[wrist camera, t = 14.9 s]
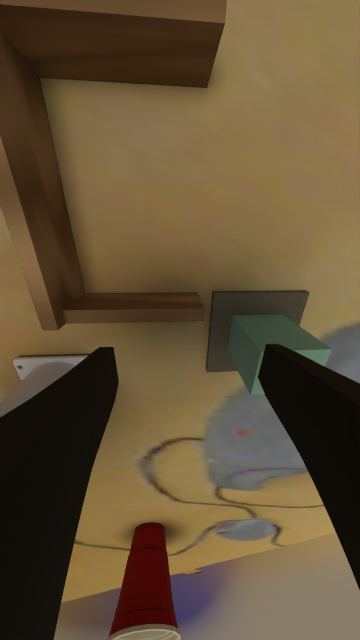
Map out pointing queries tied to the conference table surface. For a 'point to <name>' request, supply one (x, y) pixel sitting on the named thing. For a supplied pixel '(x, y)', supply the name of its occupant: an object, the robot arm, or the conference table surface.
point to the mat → (246, 304)
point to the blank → (268, 329)
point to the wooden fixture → (36, 141)
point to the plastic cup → (146, 590)
